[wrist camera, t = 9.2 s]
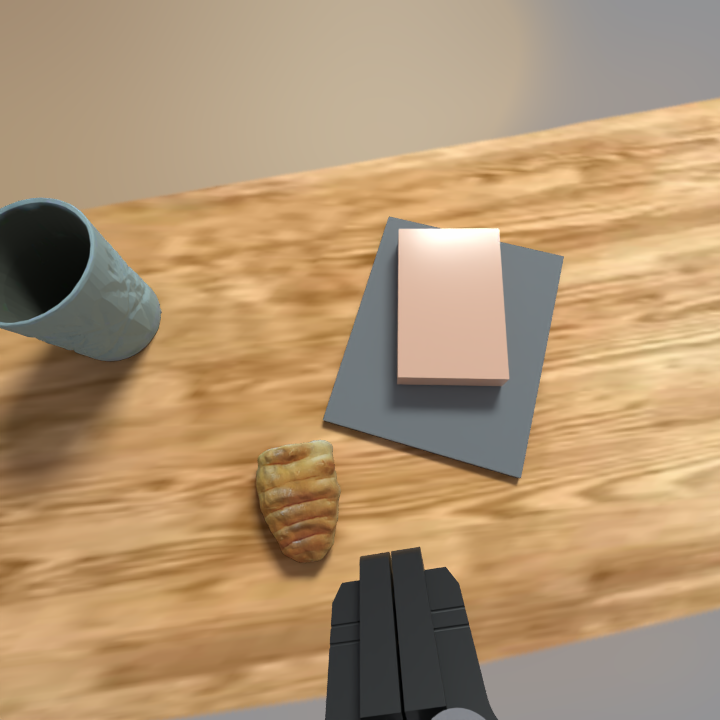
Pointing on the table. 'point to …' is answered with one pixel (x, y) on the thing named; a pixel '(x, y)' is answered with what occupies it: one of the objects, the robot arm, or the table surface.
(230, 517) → the table surface
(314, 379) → the table surface
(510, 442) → the mat
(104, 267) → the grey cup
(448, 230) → the tile
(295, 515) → the pastry
